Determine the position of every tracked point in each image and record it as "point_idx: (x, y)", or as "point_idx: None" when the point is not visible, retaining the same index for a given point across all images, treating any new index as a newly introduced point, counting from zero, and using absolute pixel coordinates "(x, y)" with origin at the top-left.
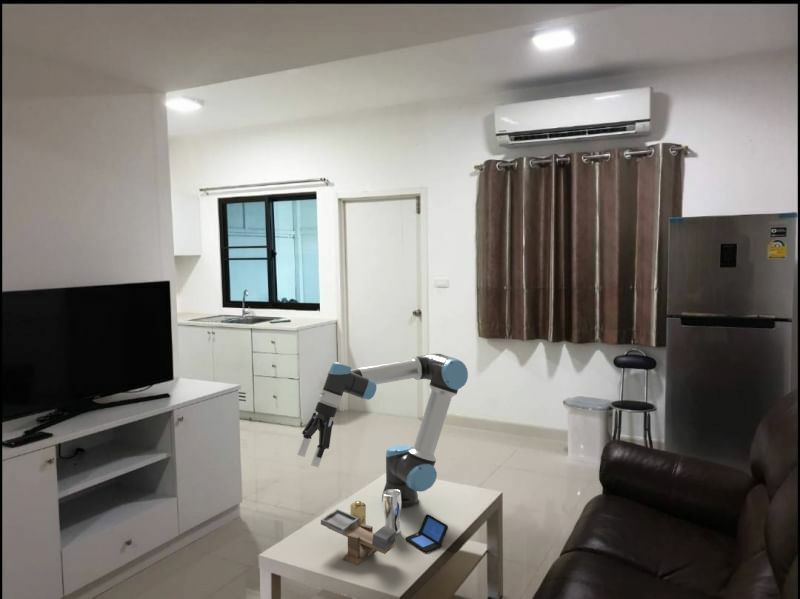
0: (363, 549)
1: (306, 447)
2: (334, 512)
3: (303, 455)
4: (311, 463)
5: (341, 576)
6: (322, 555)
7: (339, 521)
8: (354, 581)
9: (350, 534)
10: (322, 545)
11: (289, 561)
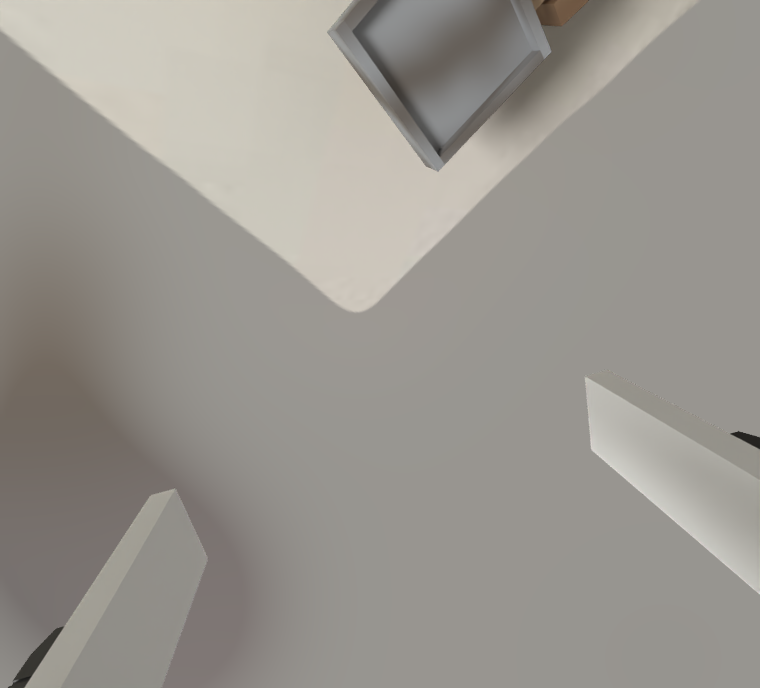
0: None
1: (129, 604)
2: (373, 63)
3: (179, 512)
4: (607, 457)
5: (587, 87)
6: None
7: (451, 46)
8: (642, 43)
9: (563, 4)
10: (350, 117)
11: (419, 252)
